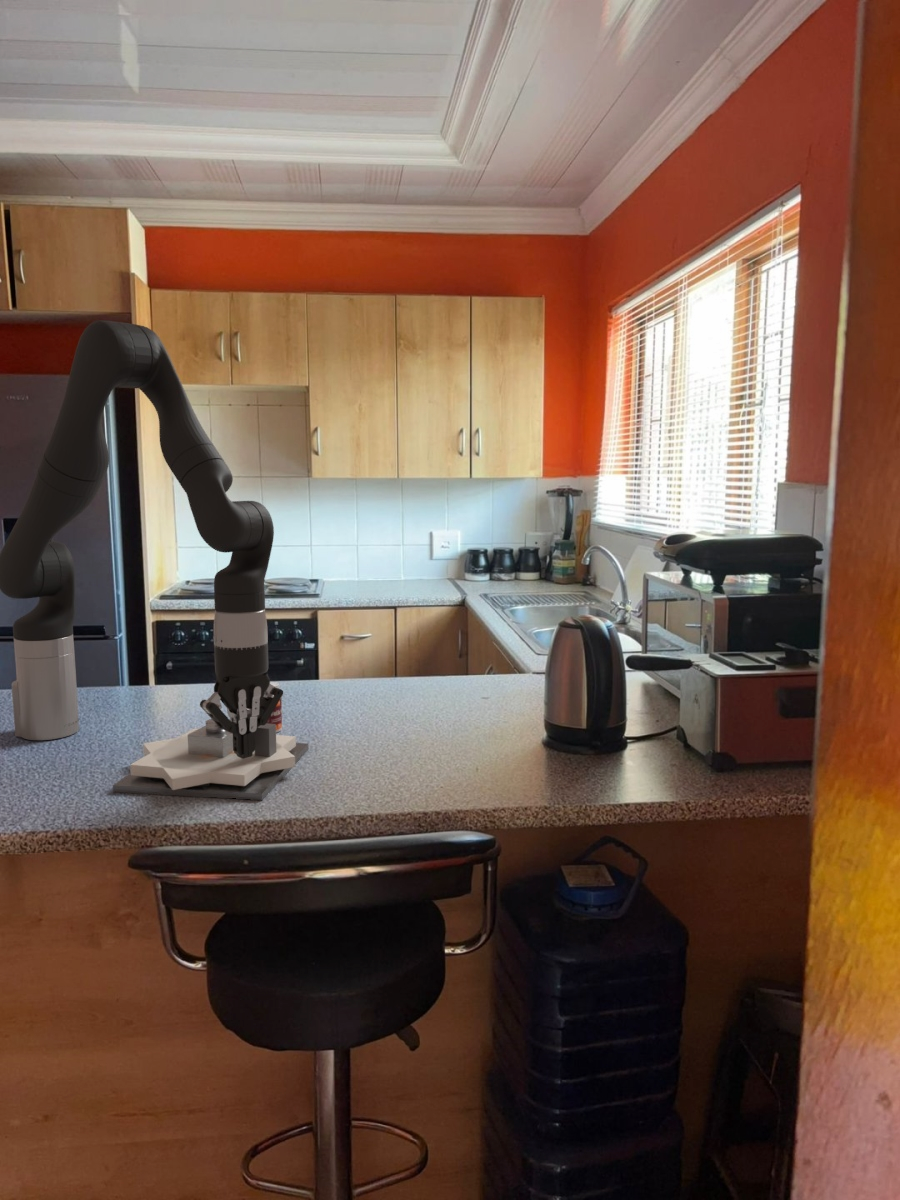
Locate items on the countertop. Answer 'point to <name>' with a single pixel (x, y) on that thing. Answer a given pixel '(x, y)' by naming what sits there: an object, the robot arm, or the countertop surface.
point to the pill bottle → (276, 713)
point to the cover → (210, 741)
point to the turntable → (214, 761)
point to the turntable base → (210, 784)
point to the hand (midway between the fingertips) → (244, 756)
